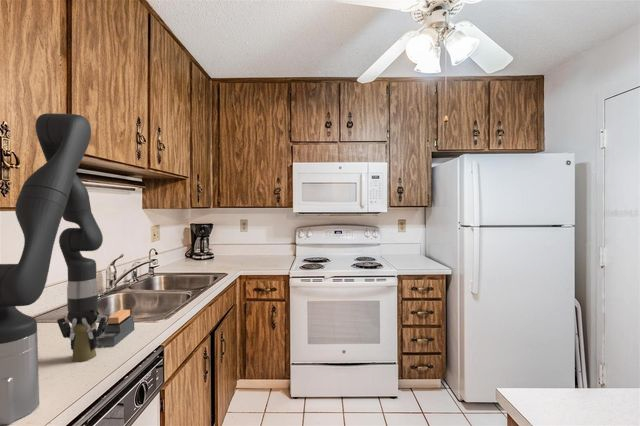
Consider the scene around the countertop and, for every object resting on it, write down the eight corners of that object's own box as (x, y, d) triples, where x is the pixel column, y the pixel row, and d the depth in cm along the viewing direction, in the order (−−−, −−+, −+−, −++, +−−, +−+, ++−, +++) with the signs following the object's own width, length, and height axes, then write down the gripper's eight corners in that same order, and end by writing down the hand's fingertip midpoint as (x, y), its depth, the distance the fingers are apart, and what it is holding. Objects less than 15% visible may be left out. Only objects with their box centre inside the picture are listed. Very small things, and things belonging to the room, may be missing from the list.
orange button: (118, 323, 111) (118, 317, 111) (107, 323, 111) (107, 317, 111) (130, 315, 119) (129, 309, 119) (119, 315, 119) (119, 309, 119)
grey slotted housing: (114, 346, 107) (113, 329, 107) (97, 347, 107) (97, 330, 106) (134, 329, 121) (134, 315, 121) (120, 330, 121) (119, 315, 120)
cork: (99, 356, 100) (98, 321, 100) (74, 364, 95) (73, 326, 95) (93, 351, 104) (92, 316, 104) (69, 357, 99) (68, 321, 99)
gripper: (48, 298, 95) (50, 357, 95) (100, 297, 96) (102, 355, 96) (66, 291, 102) (67, 345, 103) (114, 290, 103) (115, 344, 104)
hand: (84, 349), depth 100 cm, fingers closed on cork, 4 cm apart
